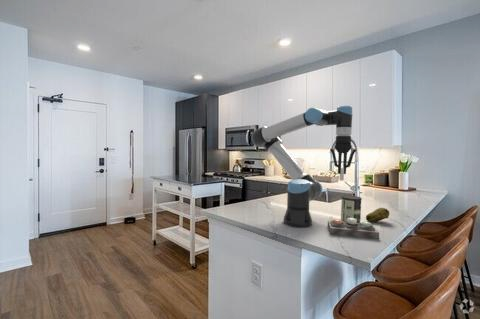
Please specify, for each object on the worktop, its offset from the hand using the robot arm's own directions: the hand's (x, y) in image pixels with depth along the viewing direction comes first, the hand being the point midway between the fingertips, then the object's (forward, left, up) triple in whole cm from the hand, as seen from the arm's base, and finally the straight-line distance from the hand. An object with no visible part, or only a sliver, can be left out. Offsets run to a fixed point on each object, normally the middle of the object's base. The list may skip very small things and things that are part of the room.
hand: (341, 180), depth 127 cm
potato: (+22, +14, -25) cm, 36 cm away
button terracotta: (-2, -10, -21) cm, 23 cm away
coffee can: (+7, +9, -25) cm, 27 cm away
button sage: (+11, -10, -21) cm, 26 cm away
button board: (+4, -10, -24) cm, 27 cm away
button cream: (+4, -10, -20) cm, 23 cm away
